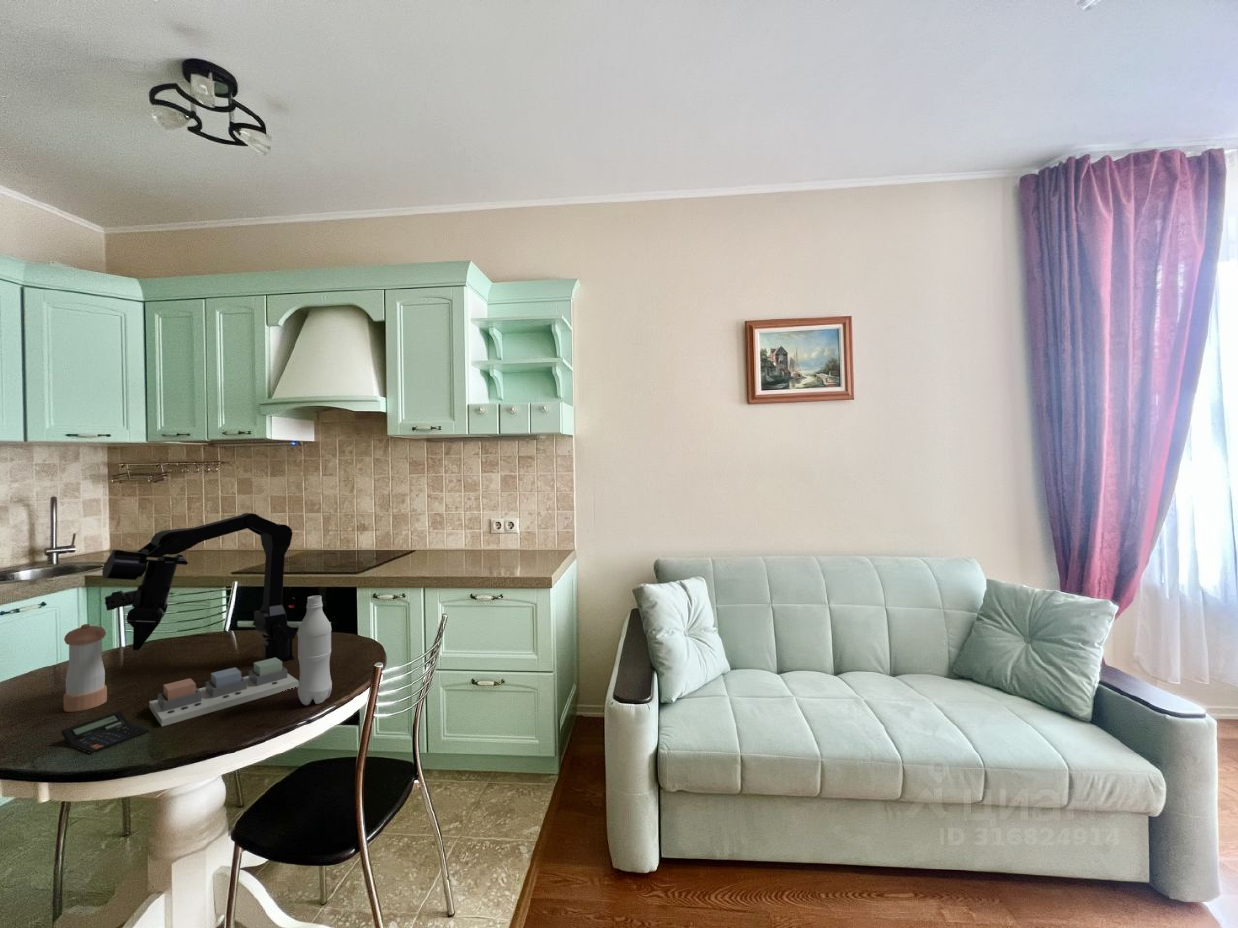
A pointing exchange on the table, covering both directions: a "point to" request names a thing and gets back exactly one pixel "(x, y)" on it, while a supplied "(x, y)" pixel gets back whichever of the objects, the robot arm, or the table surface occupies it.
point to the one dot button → (267, 666)
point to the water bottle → (314, 654)
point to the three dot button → (179, 689)
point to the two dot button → (225, 677)
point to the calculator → (102, 732)
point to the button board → (220, 696)
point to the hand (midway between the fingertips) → (138, 646)
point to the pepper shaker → (85, 669)
